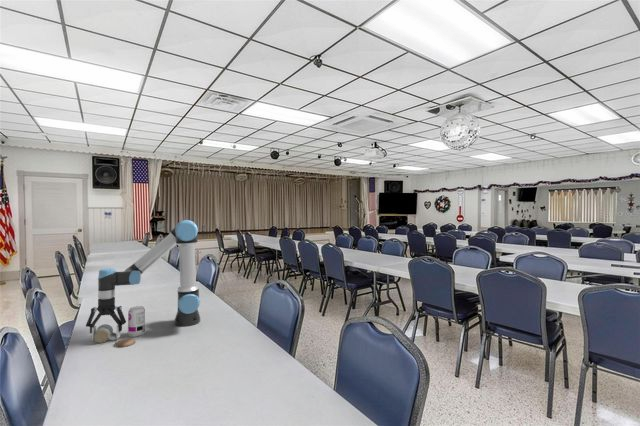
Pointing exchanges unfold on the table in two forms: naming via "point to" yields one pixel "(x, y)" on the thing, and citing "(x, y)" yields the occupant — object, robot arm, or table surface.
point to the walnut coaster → (125, 343)
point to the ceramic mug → (104, 333)
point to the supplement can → (136, 321)
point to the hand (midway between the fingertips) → (106, 338)
